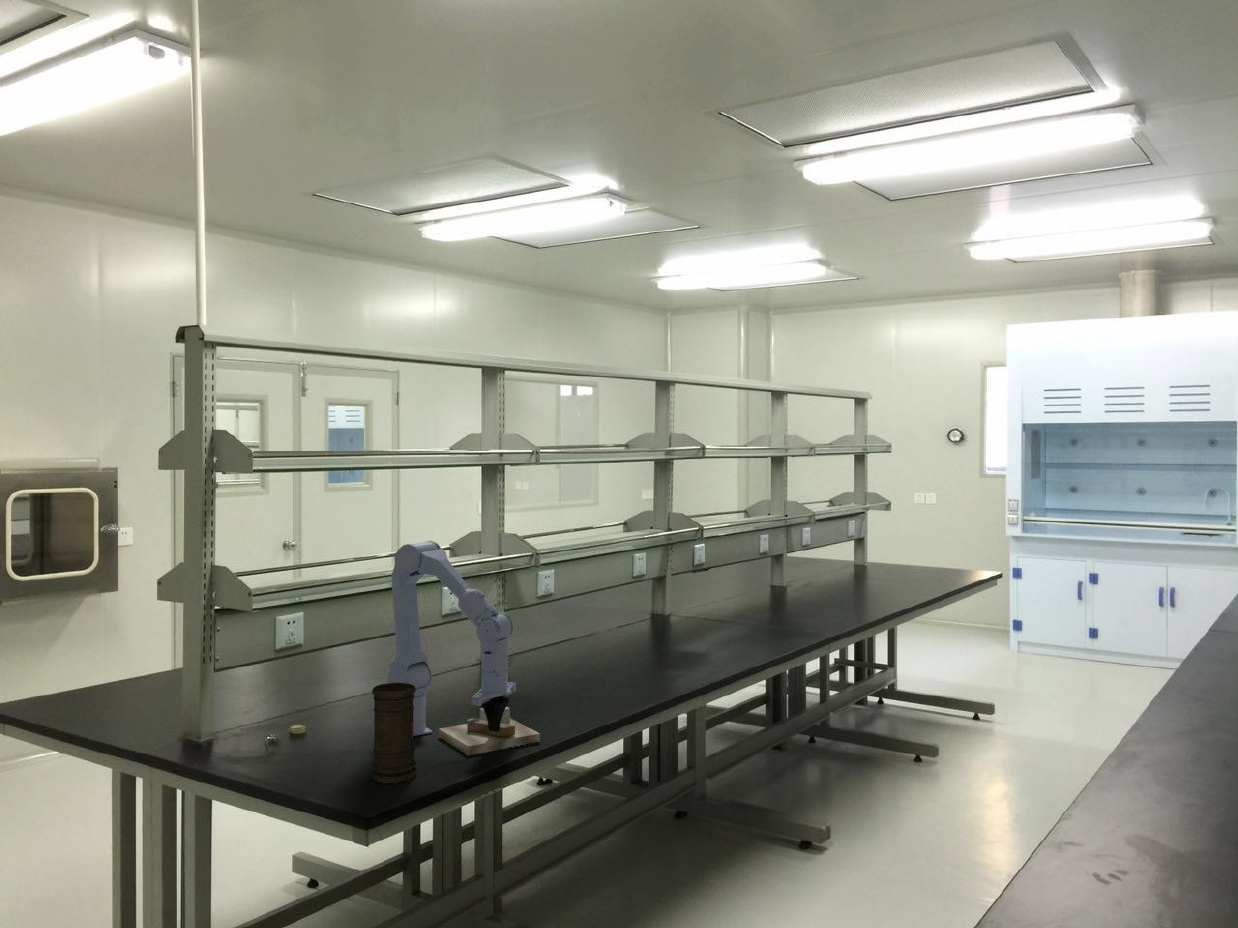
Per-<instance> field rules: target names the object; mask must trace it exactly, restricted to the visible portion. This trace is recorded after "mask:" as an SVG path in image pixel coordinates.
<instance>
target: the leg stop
mask: <svg viewBox="0 0 1238 928" xmlns="http://www.w3.org/2000/svg"><path fill="white" fill-rule="evenodd" d="M510 718H511V708H510V707H508V706H506V708H505V710H504V713H503V715H502V719H501V723H508V722H510ZM479 719H480V720H485V721H487V717H486V714H485V712H484V710H483V708H482V707H481V708H479Z"/></svg>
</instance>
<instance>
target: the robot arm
mask: <svg viewBox="0 0 1238 928" xmlns="http://www.w3.org/2000/svg"><path fill="white" fill-rule="evenodd" d="M447 555H448V554H447V552H446V551H445V550H444V549H443V548H442V547H441V546H440V544H438V543H437V542H436V541H435V540H434V541H433V540H428V541H425V542H419V543H412V544H411V543H406V544H404V545H401V547H400V548H399V549H398V550H397V551H395V553H394V555H393V556H394V558H393V560H394V565H393V569H392V572H391V577H390V578H391V579H390V580H391V591H392V592H391V593H392V594H391V595H392V606H393V607H392V608H393V621H394V633H395V634H394V636H395V650H396V653H395V655H394V656H393V657H392V658H391V661H390V662H389V664H388V667H389V671H388V674H387V677H386V684H387V683H408V684H412V685H414V686H415V689H416V691H415V693H414V699H413V706H414V709H413V737H414V736H421V735H426V734H427V735H428V734H432V733H433V730H431V729H430V728H428V727H427V726H426V723H427V722H426V719H427V718H426V717H427V716H426V715H427V714H426V713H427V712H426V706H427V705H426V704H427V700H426V699H427V698H426V697H427V696H426V695H427V694H426V693H427V691H428V686H429V685H431V683H432V680H433V671H432V668H431V666H430V664H429V657H428V655H426V654H425V653H424V652H423V651H422V650H421V649H422V648H421V633H420V621H419V606H418V605H419V604H418V591H417V582H418V581H419V580H420V579H421V578H422V577H423V576H424V575H429V576H434V577H436V578H437V579H438V580H439V581H440V582H441V583H442V585H444V586H445V587H446V588H447V589H448V590H449V591H450V592H451V593H452V594H453V595H454V596H455V597H456V598H457V599H458V608H459V609H460V611H462V613H463V614H464V615H465V616H466V617H467V618H468V619H469V620H470V622H471V623H472V624H473V625H474V626H475V628H476V629H475V631H476V636H477V638H478V640H479V642H480V648H481V681H480V682H481V687H480V689H479V690H478V691H477V693H475V694H474V695H472V696H471V706H476V707H480V706H481V708H483V710H484V712H485V714H486V717H487V721H488V728H489V731H494V732H498V731H499V728H500V723H501V719H502V715H503V713H504V710H505V708H506V707H508V704H509V701H510V698H509V697H506V696H510V695H512V693H515V692H517V683H516V682H511V681H508V678H509V677H508V667H509V664H508V663H509V662H508V661H509V659H508V658H509V655H508V654H509V653H508V652H509V637H511V635H512V633H513V631H514V630H513V629H514V626H513V624H514V623H513V621H512V619H511V618H510V615H509V614H507V613H505V612H500V611H499V610H498V608H496V607H495V606H493V604H491V602H490V601H489V600H488V599H487V597H486V594H485V593H484V591H482V590H479V589H478V588H477V589H475V588H473V589H472V588H470V586H469V585H468V584H467V582H465V580H464V579H463V577H462V576H461V575H460V573H459V572H458V571H457V569H455V567H454V565H452V563H451V562H450V560H449V558H448V557H447Z"/></svg>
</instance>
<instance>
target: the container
mask: <svg viewBox="0 0 1238 928" xmlns="http://www.w3.org/2000/svg"><path fill="white" fill-rule="evenodd" d="M415 691H416V689H415V686H414V685H412V684H408V683H387V682H386V683H383V684H382V683H381V684H379V685H376V686H374V687H373V688H372V690H371V693H372V694H371V695H373V700H374V708H373V711H374V718H373V721H374V745H373V746H374V747H373V751H372V752H373V762H372V766H371V768H372V770H371V774H370V775H371V778H372V780H373V781H374V780H375V782H376V781H378V782H377V783H380V782H382V783H381V784H387V783H393V784H398V783H397V782H401V783H403V782H402V781H405V782H408V781H410V780H413V779H414V778H415V777H416V775H417V767H416V765H417V762H416V760H415V746H414V736H413V709H414V706H413V699H414V693H415Z"/></svg>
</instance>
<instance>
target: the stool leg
mask: <svg viewBox="0 0 1238 928" xmlns="http://www.w3.org/2000/svg"><path fill="white" fill-rule="evenodd" d="M466 724H467V730H469V731H475V732H481V733H486V734H492V735H497V736H502V737H508V738H509V737H511V736H513V735H515V726H514V725H508V724H502V723H500V728H499V731H498V732H494V731H489V728H488V721H485V720H480V718H469V719H467V721H466Z"/></svg>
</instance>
